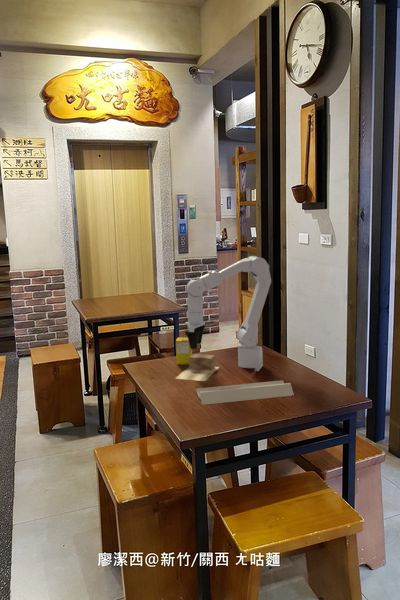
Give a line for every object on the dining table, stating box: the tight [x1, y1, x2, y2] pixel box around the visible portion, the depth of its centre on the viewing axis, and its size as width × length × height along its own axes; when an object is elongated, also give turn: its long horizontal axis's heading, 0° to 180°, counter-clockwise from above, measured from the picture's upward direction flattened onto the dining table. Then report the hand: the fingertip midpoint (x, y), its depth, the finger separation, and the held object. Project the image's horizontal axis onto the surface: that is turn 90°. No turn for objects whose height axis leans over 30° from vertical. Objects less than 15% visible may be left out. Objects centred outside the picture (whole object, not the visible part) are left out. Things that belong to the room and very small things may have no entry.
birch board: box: [175, 366, 220, 382], centre depth 189 cm, size 12×17×1 cm
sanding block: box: [188, 353, 216, 371], centre depth 193 cm, size 9×4×5 cm, turn 70°
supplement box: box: [175, 336, 193, 365], centre depth 202 cm, size 6×6×11 cm
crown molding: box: [195, 380, 295, 406], centre depth 167 cm, size 31×12×4 cm, turn 100°
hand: (195, 346), depth 190 cm, fingers open, 7 cm apart
